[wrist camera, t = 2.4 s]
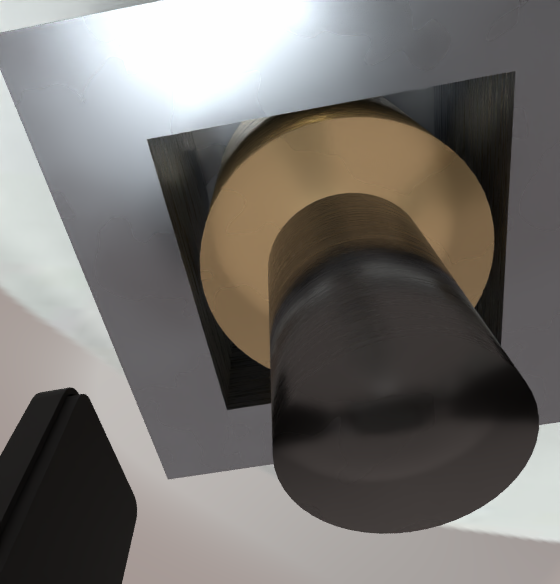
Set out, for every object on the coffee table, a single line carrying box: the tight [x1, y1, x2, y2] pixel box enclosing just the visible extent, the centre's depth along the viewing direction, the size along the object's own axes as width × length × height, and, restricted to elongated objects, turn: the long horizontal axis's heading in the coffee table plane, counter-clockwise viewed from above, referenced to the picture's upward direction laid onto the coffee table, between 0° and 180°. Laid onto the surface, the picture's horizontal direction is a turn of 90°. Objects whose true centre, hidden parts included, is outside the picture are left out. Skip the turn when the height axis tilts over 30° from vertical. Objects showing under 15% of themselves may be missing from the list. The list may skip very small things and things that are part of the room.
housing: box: [0, 0, 560, 479], centre depth 16 cm, size 13×13×7 cm
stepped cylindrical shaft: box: [200, 96, 539, 533], centre depth 13 cm, size 7×7×12 cm
